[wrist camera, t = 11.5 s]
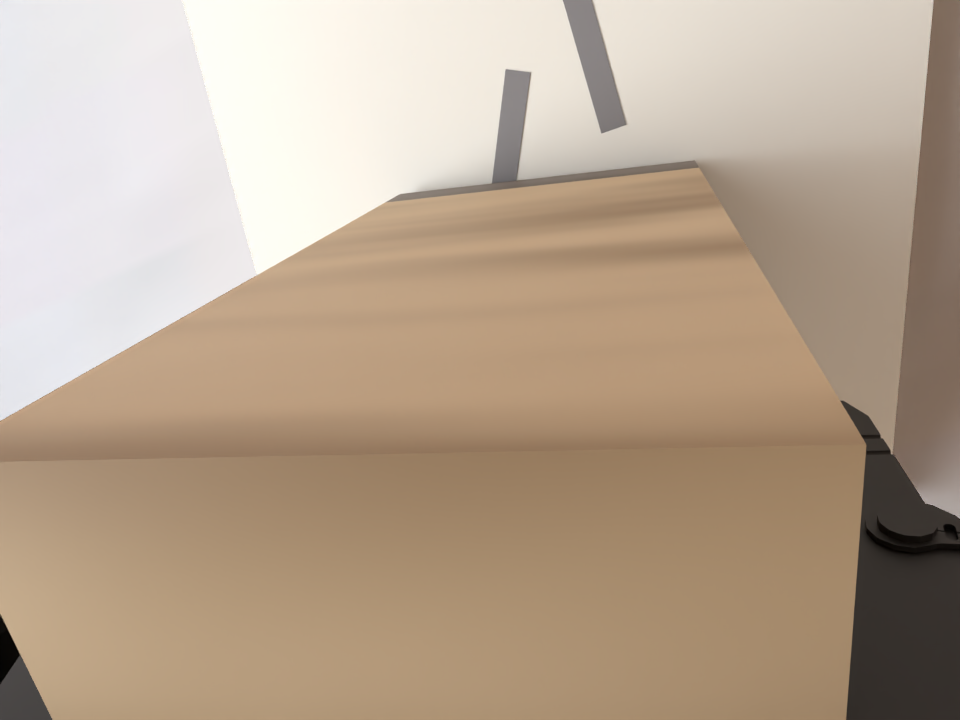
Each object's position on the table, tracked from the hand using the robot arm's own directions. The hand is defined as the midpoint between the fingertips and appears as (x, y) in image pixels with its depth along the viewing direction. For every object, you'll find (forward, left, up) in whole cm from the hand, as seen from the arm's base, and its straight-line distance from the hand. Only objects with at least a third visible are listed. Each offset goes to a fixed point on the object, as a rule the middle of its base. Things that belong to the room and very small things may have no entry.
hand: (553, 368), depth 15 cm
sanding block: (0, 0, -1) cm, 1 cm away
